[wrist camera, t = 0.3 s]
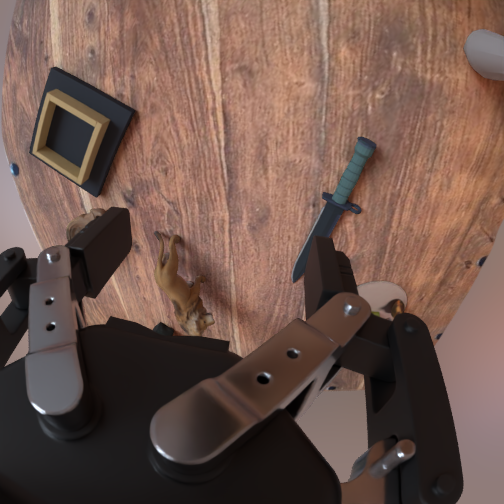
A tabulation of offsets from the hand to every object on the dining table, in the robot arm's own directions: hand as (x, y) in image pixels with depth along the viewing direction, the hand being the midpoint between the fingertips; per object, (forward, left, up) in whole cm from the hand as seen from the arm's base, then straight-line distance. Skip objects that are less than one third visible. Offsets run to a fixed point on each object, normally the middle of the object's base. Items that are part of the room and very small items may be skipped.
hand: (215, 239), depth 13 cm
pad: (+15, -20, -22) cm, 33 cm away
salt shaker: (-23, +12, -22) cm, 35 cm away
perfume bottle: (+13, +31, -22) cm, 41 cm away
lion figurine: (+25, +4, -22) cm, 34 cm away
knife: (+6, +14, -22) cm, 27 cm away
